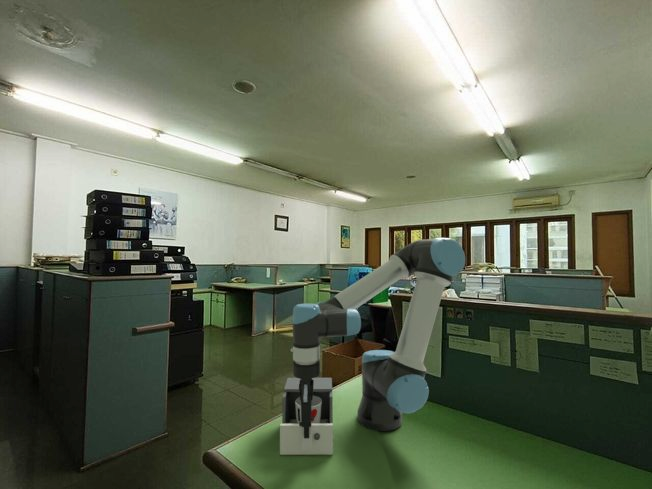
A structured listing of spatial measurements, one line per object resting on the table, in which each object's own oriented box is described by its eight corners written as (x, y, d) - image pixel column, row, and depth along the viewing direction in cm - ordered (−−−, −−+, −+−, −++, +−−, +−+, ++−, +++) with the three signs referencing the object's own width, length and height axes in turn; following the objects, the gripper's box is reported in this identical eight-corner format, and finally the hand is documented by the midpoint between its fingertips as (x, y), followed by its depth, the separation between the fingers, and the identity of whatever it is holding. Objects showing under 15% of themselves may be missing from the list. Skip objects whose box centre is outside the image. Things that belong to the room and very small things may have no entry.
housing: (287, 422, 104) (287, 377, 104) (331, 422, 104) (331, 377, 104) (281, 447, 90) (281, 395, 91) (332, 447, 90) (332, 395, 91)
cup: (291, 440, 90) (291, 405, 91) (299, 425, 98) (299, 393, 99) (318, 443, 89) (318, 408, 89) (324, 428, 97) (324, 396, 97)
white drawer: (286, 427, 100) (286, 402, 101) (332, 427, 100) (331, 402, 101) (279, 455, 86) (279, 426, 86) (333, 455, 86) (332, 426, 86)
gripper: (294, 353, 92) (295, 433, 91) (290, 369, 79) (290, 463, 78) (320, 352, 92) (320, 433, 91) (319, 368, 79) (320, 463, 78)
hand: (306, 447), depth 84 cm, fingers closed
